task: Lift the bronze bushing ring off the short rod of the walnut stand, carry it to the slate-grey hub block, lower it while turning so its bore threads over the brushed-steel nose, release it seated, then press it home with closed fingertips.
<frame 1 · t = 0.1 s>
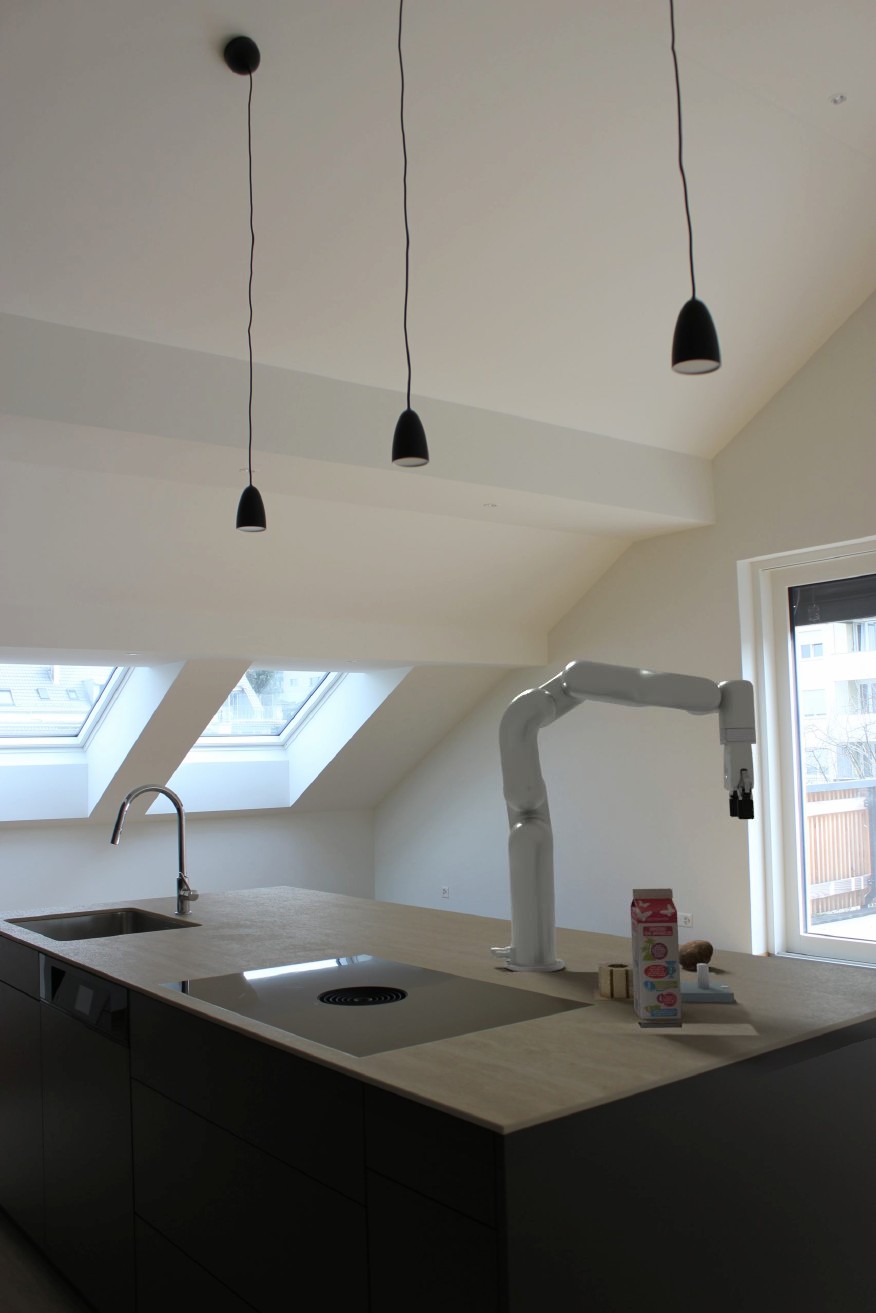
hand: (741, 817, 215), 31 cm above the table, fingers open, 9 cm apart
hub: (704, 1004, 181), on the table
ring: (618, 994, 184), point 1 cm above the table, touching stand
brown potato: (696, 969, 213), on the table
juice carton: (658, 1023, 169), on the table
stand: (619, 1002, 184), on the table
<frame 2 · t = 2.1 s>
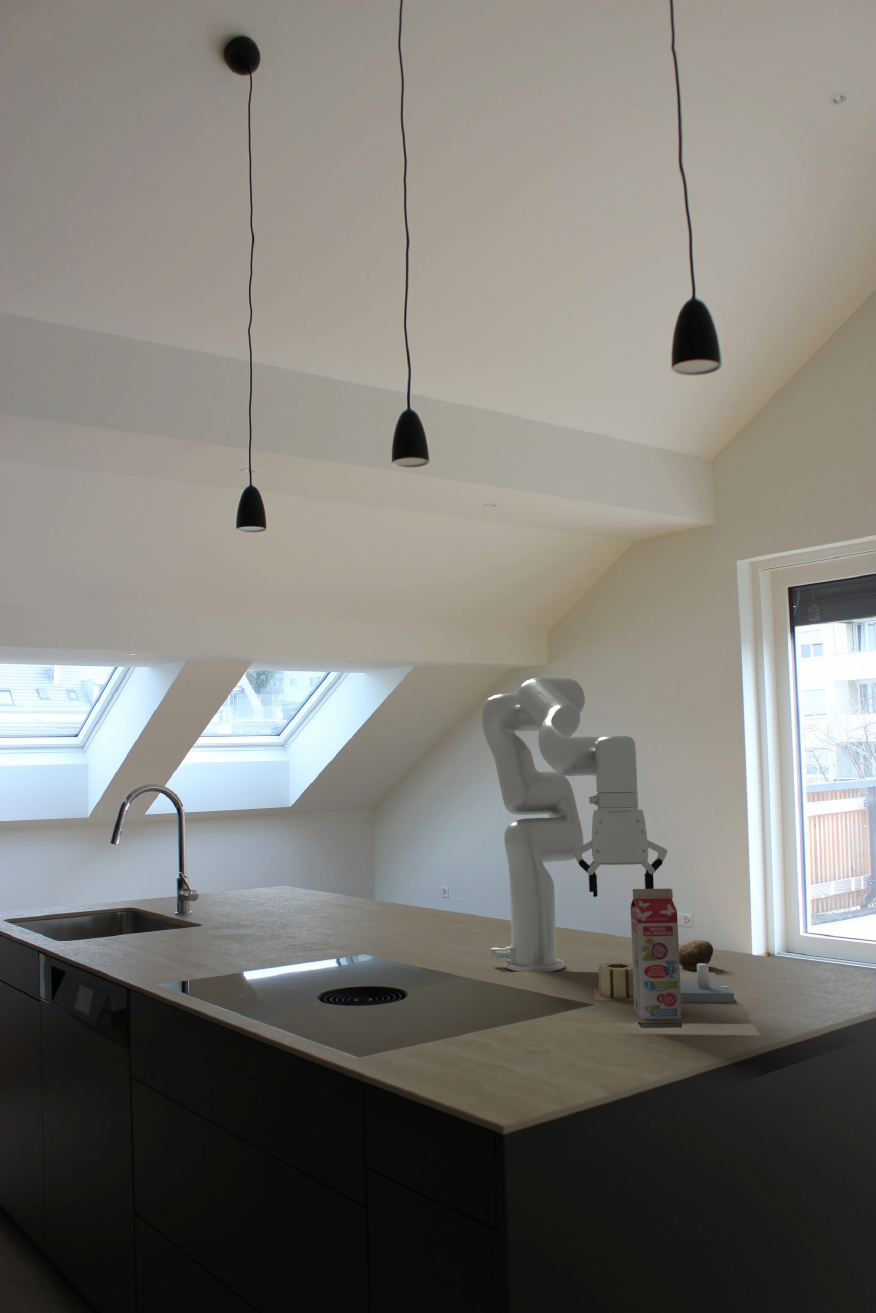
hand: (621, 895, 187), 19 cm above the table, fingers open, 9 cm apart
nothing on the table moved.
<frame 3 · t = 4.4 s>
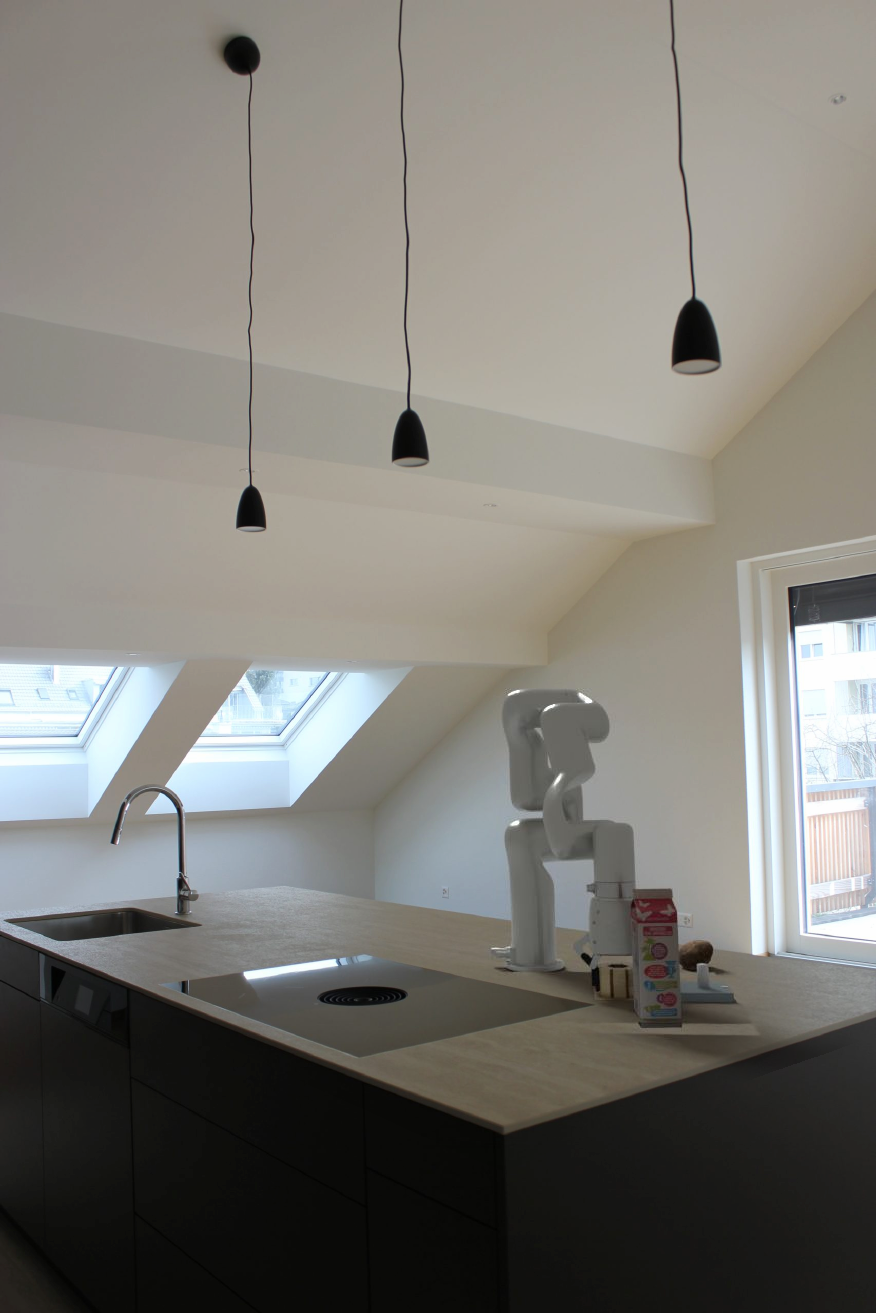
hand: (618, 989, 184), 2 cm above the table, fingers closed on ring, 7 cm apart
ring: (618, 994, 184), point 2 cm above the table, touching gripper, stand
everything else where it was.
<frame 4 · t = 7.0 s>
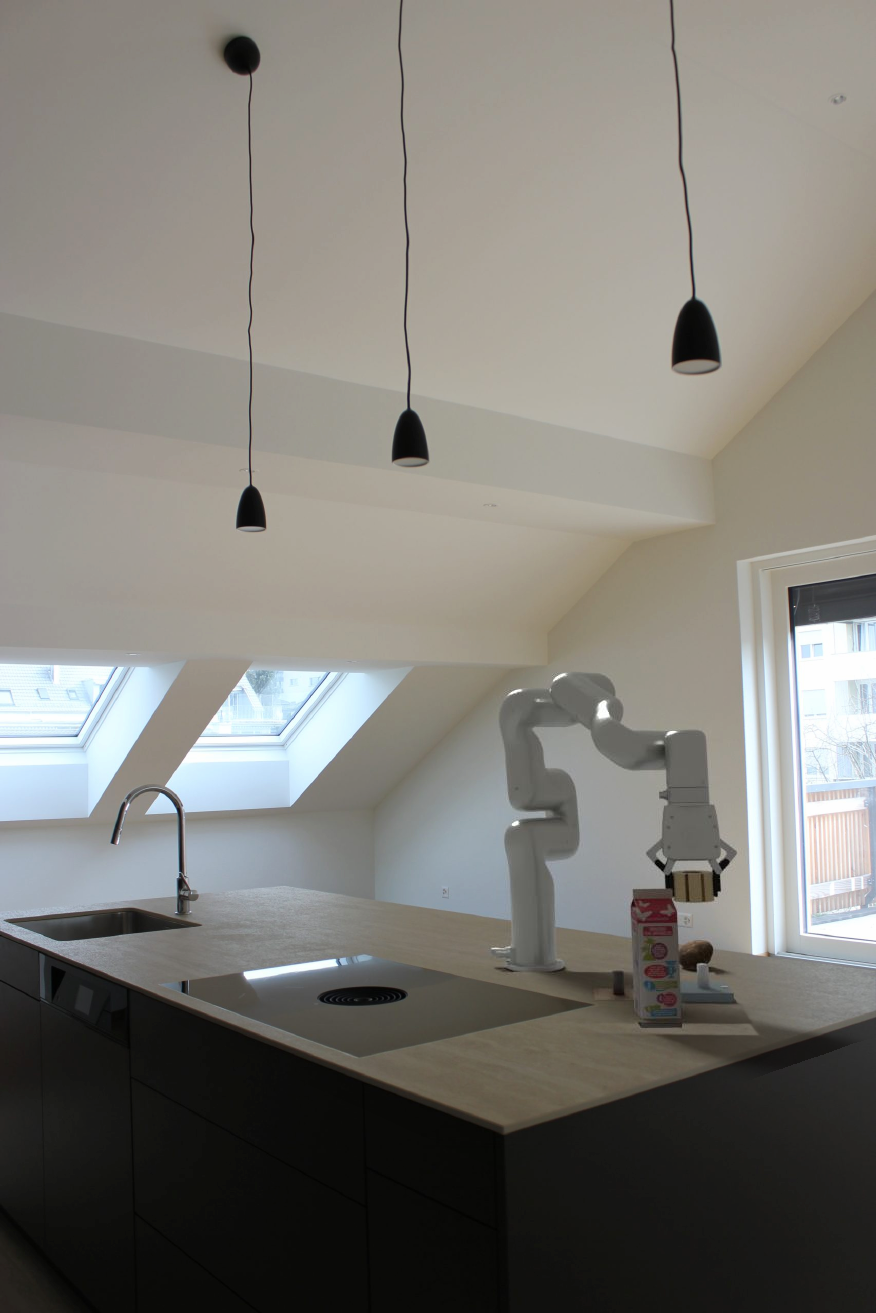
hand: (693, 895, 183), 19 cm above the table, fingers closed on ring, 7 cm apart
ring: (693, 900, 183), point 18 cm above the table, touching gripper
everything else where it was.
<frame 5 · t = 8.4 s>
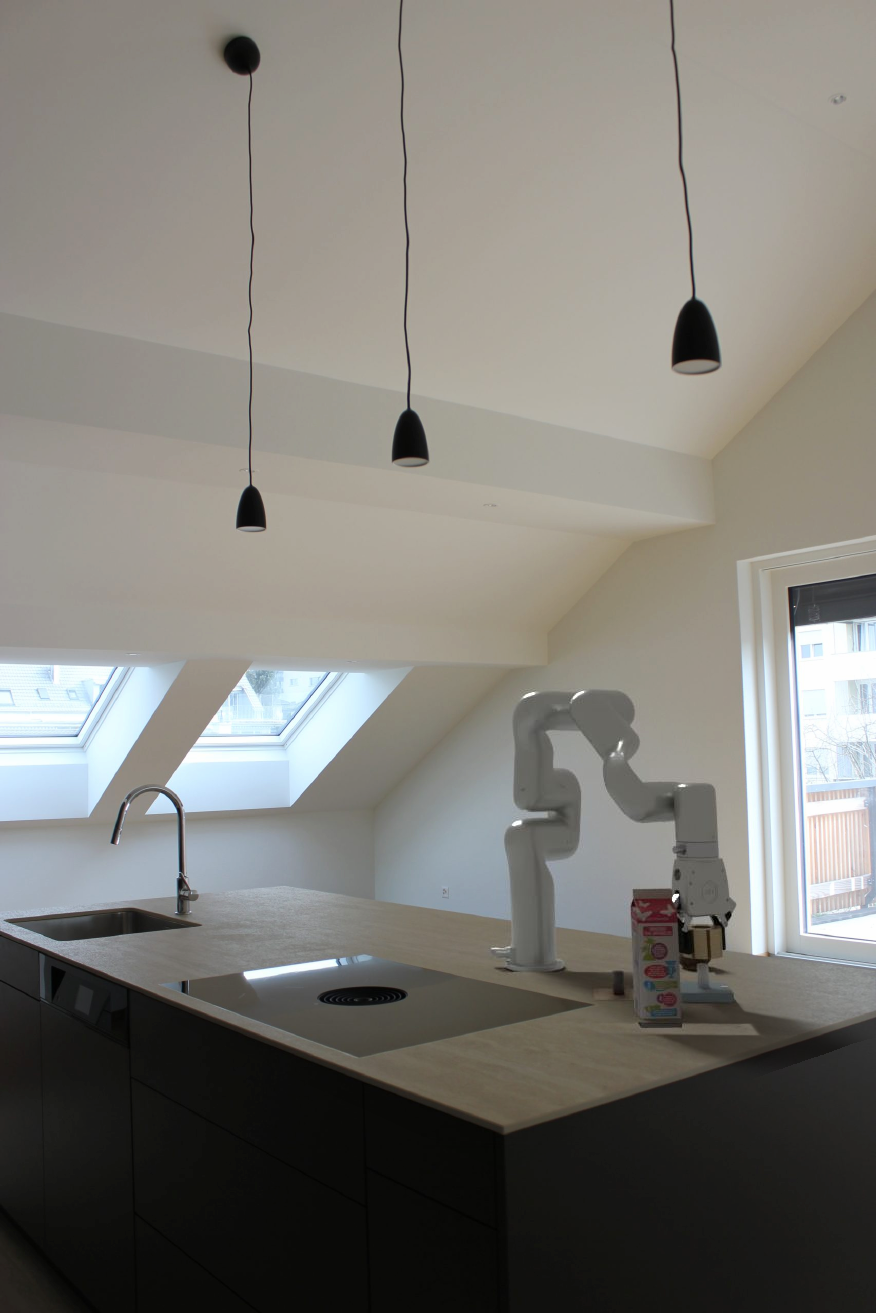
hand: (702, 950, 182), 9 cm above the table, fingers closed on ring, 7 cm apart
ring: (702, 955, 182), point 9 cm above the table, touching gripper
everything else where it was.
when the fingers open (5 cm above the table, at t = 9.8 s): ring drops 1 cm, resting on hub.
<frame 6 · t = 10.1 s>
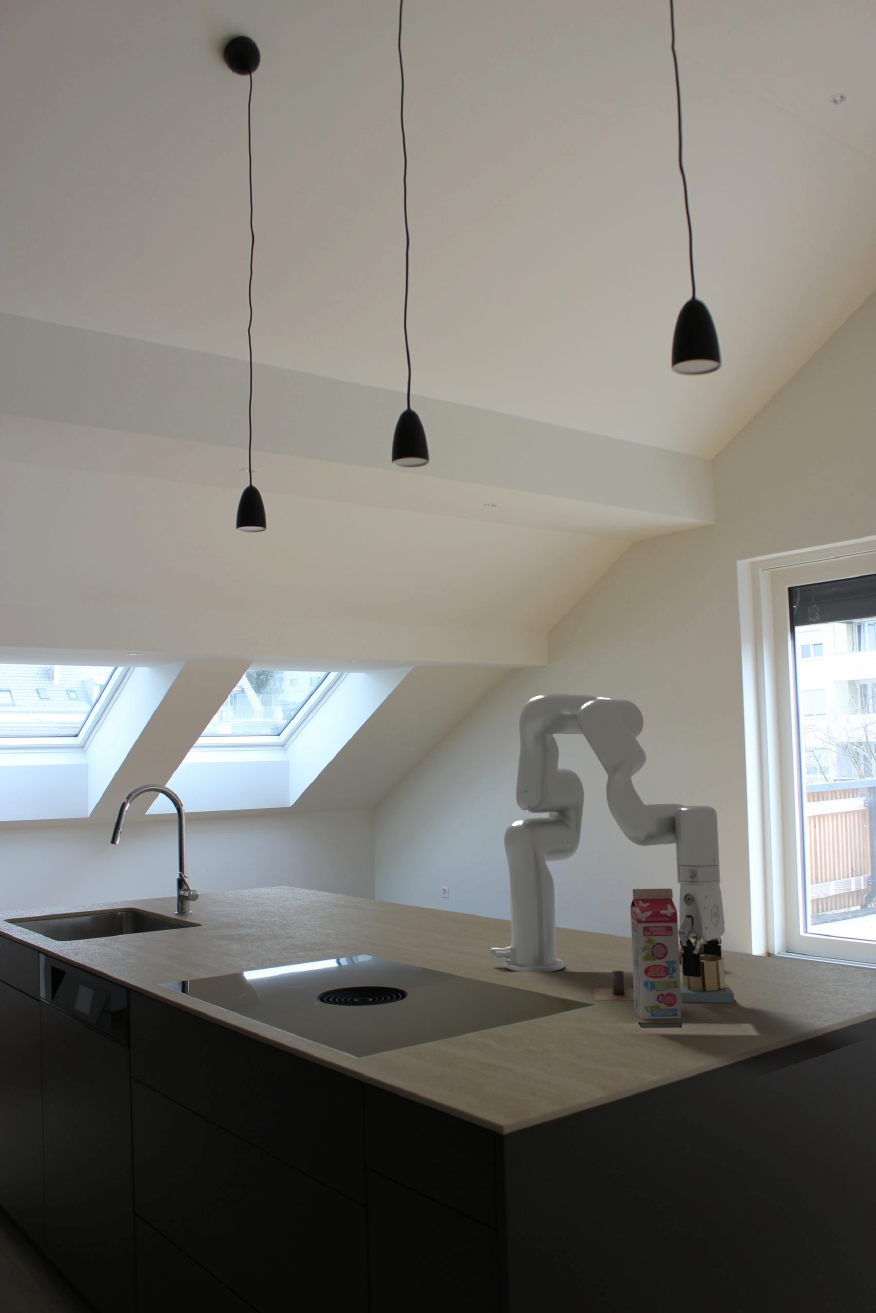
hand: (702, 971, 182), 6 cm above the table, fingers open, 9 cm apart
ring: (704, 986, 182), point 3 cm above the table, touching hub
everything else where it was.
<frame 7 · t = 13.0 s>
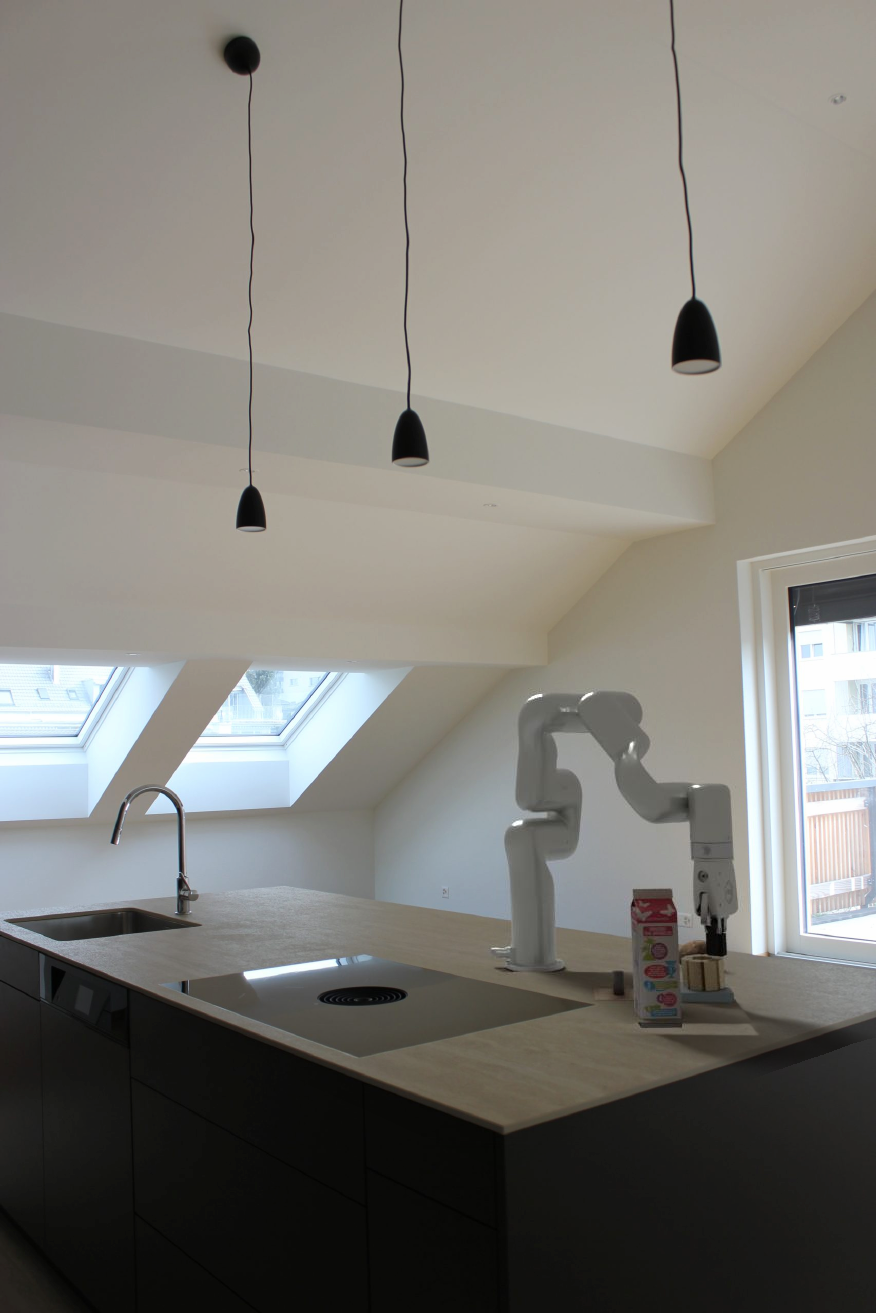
hand: (716, 955, 182), 9 cm above the table, fingers closed
nothing on the table moved.
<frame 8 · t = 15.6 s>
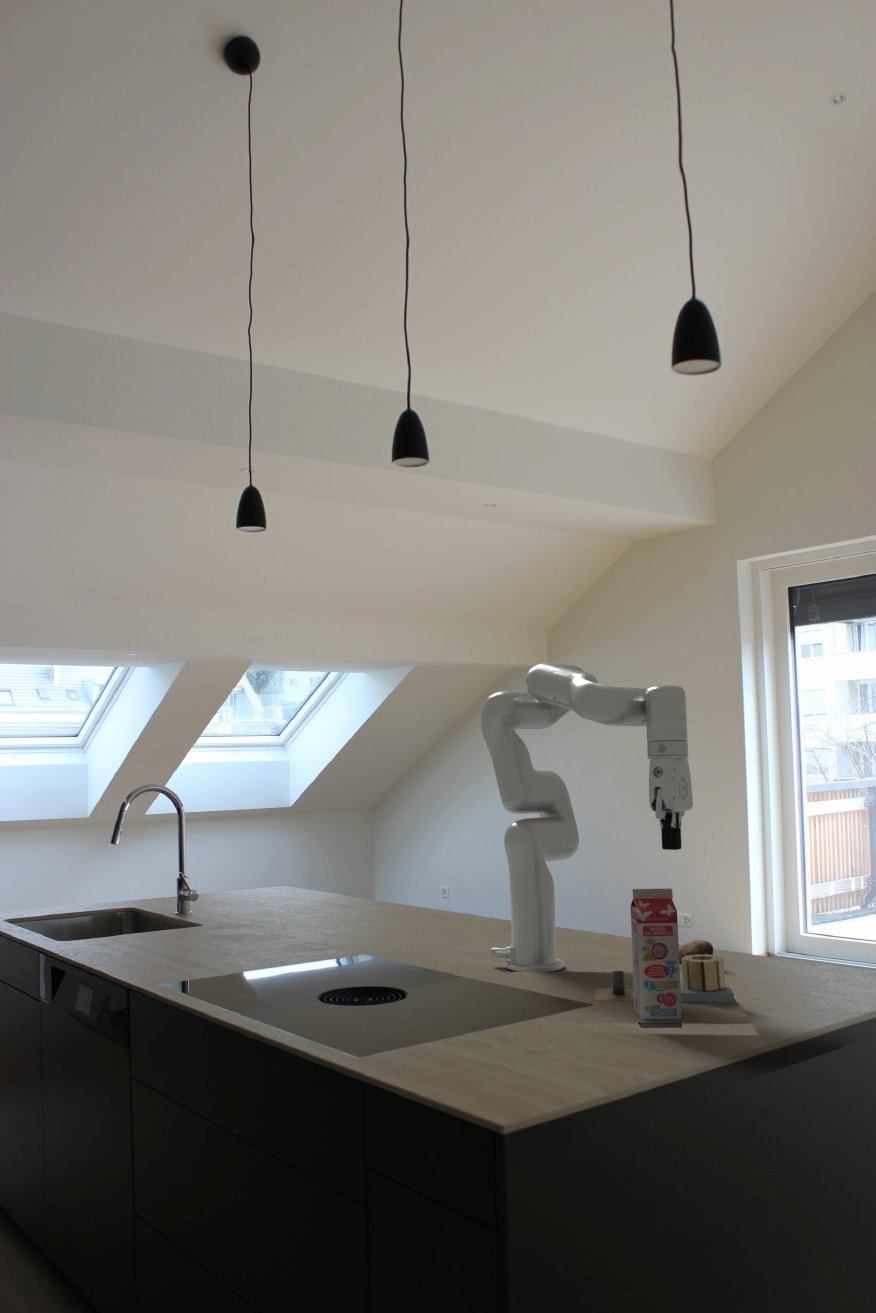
hand: (671, 849, 189), 27 cm above the table, fingers closed
nothing on the table moved.
at the end: ring 0.1 cm off-centre on the hub, point 3.1 cm above the hub's base; ring tilted 2°; the gripper is holding nothing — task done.
